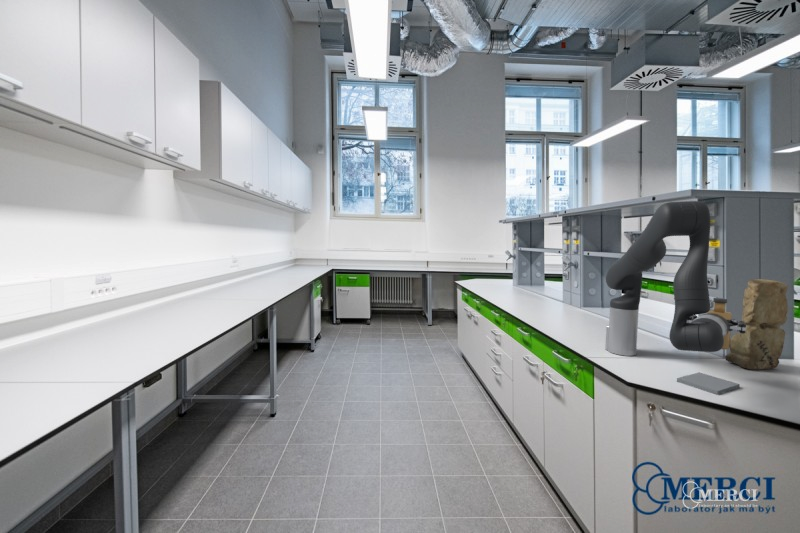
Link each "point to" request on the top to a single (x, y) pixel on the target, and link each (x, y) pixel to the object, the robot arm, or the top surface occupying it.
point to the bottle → (720, 310)
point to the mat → (708, 383)
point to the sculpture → (761, 326)
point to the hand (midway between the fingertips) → (720, 320)
